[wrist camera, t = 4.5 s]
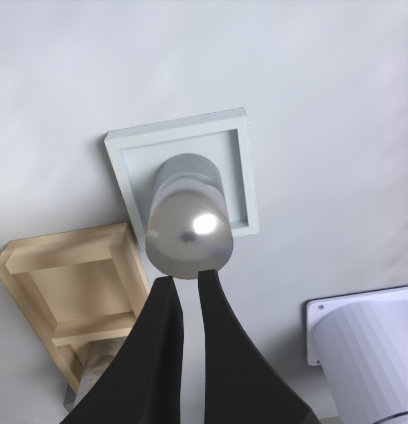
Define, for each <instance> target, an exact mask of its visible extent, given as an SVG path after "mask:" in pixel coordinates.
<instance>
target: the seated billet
mask: <svg viewBox="0 0 408 424" xmlns="http://www.w3.org/2000/svg"><path fill="white" fill-rule="evenodd" d="M126 338H127V336H122V337H115V338H108V339H102V340H95V341H92V342H91V344H90V347H89V351H88V354H87V358H86V362H85V366H84V370H83V373H82V377H81V381H80V385H79V388H78V392H77V396H76V400H75V403H74V407H73V409H74V408H75V406H76V405H77V404H78V403H79V402H80V401H81V400H82V398H83V397H84V396H85V395H86V394H87V393H88V392H89V390H90V389H91V388H92V387H93V385H94V384H95V383H96V382H97V380H98V379H99V378H100V376H101V375H102V374H103V372H104V371H105V370H106V368H107V367H108V366H109V364H110V363H111V361H112V360H113V358H114V357H115V356H116V354H117V353H118V351H119V349H120V348H121V346H122V345H123V343H124V341H125V340H126Z"/></svg>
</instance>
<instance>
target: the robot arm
mask: <svg viewBox="0 0 408 424" xmlns="http://www.w3.org/2000/svg"><path fill="white" fill-rule="evenodd" d="M198 290H199V296H200V303H201V309H202V316H203V322H204V330H205V375H206V378H205V418H204V424H321V423H320V422H319V420H318V418H317V417H316V415H315V414H314V412H313V411H312V409H311V408H310V406H309V405H307V404H306V403H305V402H304V401H303V400H302V399H301V398H300V397H299V396H298V395H297V394H296V393H295V392H294V391H293V390H292V389H291V388H290V387H289V386H288V385H287V384H286V383H285V381H284V380H283V379H282V378H281V377H280V376H279V375H278V374H277V373H276V371H275V370H274V369H273V368H272V367H271V365H270V364H269V363H268V362H267V361H266V360H265V358H264V357H263V356H262V355H261V353H260V352H259V351H258V349H257V348H256V347H255V345H254V344H253V342H252V341H251V340H250V338H249V337H248V335H247V334H246V332H245V331H244V329H243V328H242V326H241V324H240V323H239V321H238V319H237V318H236V316H235V314H234V312H233V311H232V309H231V307H230V305H229V303H228V301H227V299H226V297H225V294H224V292H223V290H222V287H221V284H220V281H219V277H218V272H217V270H215V269H211V270H204V271H198ZM320 305H321V306H320ZM306 322H307V362H308V364H309V365H311V366H316V365H322V368H323V371H324V374H325V376H326V379H327V382H328V385H329V388H330V390H331V393H332V396H333V399H334V402H335V404H336V407H337V410H338V413H339V416H340V418H341V421H342V424H408V287H402V288H395V289H388V290H381V291H375V292H368V293H361V294H354V295H348V296H341V297H334V298H327V299H321V300H314V301H310V302H308V303H307V305H306ZM183 344H184V327H183V311H182V308H181V304H180V301H179V297H178V294H177V290H176V287H175V283H174V280H173V276H165V277H159V278H156V279H155V281H154V283H153V286H152V288H151V291H150V293H149V295H148V297H147V300H146V302H145V304H144V306H143V308H142V310H141V312H140V314H139V316H138V318H137V320H136V322H135V324H134V326H133V327H132V329H131V331H130V333H129V334H128V336H127V338H126V340H125V341H124V343H123V345H122V346H121V348H120V349H119V351H118V353H117V354H116V356H115V357H114V358H113V360H112V361H111V363H110V364H109V366H108V367H107V368H106V370H105V371H104V372H103V374H102V375H101V376H100V378H99V379H98V380H97V382H96V383H95V384H94V385H93V387H92V388H91V389H90V390H89V392H88V393H87V394H86V395H85V396H84V397H83V398H82V400H81V401H80V402H79V403H78V404H77V405H76V406H75V408H74V409H73V410H72V411H71V412H70V413H69V414H68V415H67V416H66V417H65V418H64V420H63V421H62V422H61V423H59V424H180V390H181V375H182V360H183Z"/></svg>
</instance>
